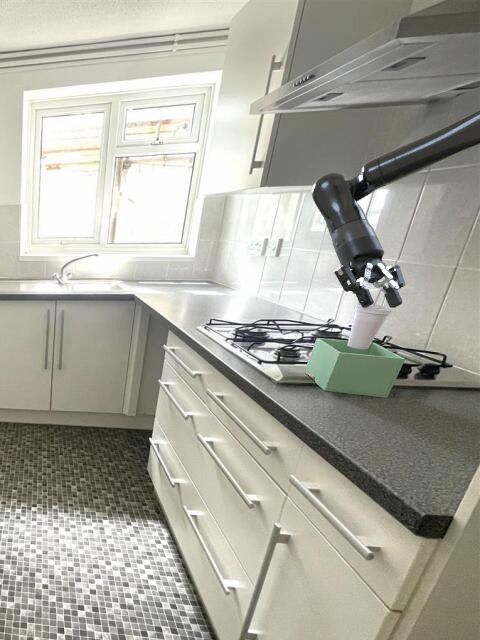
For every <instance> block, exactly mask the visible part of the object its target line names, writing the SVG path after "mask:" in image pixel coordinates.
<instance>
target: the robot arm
mask: <svg viewBox="0 0 480 640" xmlns="http://www.w3.org/2000/svg"><path fill="white" fill-rule="evenodd" d="M479 145H480V109H478V110H477V111H475V112H473V113H471V114H469V115H467V116H465V117H463V118H461V119H459V120H457V121H455V122H453V123H451V124H448V125H446V126H444V127H442V128H440V129H437V130H435V131H433V132H430V133H428V134H426V135H424V136H422V137H419V138H416V139H414V140H412V141H410V142H407V143H405V144H403V145H400V146H398V147H395V148H394V149H391V150H389V151H387V152H385V153H383V154H380V155H379V156H376V157H373V158H372V159H370V160H368V161H367V162H365V163H364V164H363V165H362V167H361V172H360V173H358V174H357V175H355V176H353V177H352V178H350V179H348V177H347V176H346V175H345V174H343V173H341V172H337V171H334V172H332V171H331V172H327V173H325V174H322V175H321V176H319V178H317V179H316V181H315V182H314V183H313V185H312V186H311V192H310V193H311V194H310V195H311V199H312V200H313V202H314V204H315V206H316V208H317V209H318V211H319V213H320V215H321V216H322V217H323V220H324V222H325V226H326V228H327V232H328V233H329V236H330V238H331V243H332V246H333V249H334V251H335V254H336V257H337V259H338V261H339V264H340V266H339V267H338V268H336V269H335V270H334V271H333V273H334V275H335V277H336V278H337V280H338V282H339V284H340V285H341V288H342V289H343V291H344V292H346V293H349V292H352V294H354V295H355V296H356V299H357V301H358V304H360V305H361V306H362V307H363V308H367V307H369V306H371V305H372V304H373V303H374V299H373V296H372V294H371V292H370V289H369V288H368V285H369V284H371V285H372V286H373V287H374V288H375V289H377V288H378V289H379V288H380V287H383V289H382V291H381V292H382V293H383V294H384V298H385V300H386V302H387V305H388V307H390V308H392V309H395V308H397V307H400V306H401V305H402V304H403V298H402V297H401V295H400V292H399V290H400V289H402V288H404V287H406V282H405V279H404V275H403V272H402V269H401V266H400V265H399V264H397V263H396V264H394V265H392V266H389V265H387V264H386V263H385V262H384V260H383V257H384V255H385V250H384V248H383V246H382V243H381V242H380V240H379V237H378V235H377V233H376V230H375V229H374V227H373V226H372V225H371V223H370V222H369V219H368V217H367V215H366V213H365V211H364V209H363V207H361V205H360V204H359V203H358V202H360V201H361V200H362V199H364V198H366V197H368V196H369V195H371V194H373V193H374V192H376V191H377V190H379V189H381V188H384V187H386V186H388V185H391V184H394V183H396V182H398V181H401V180H403V179H406V178H408V177H410V176H413V175H415V174H418V173H420V172H422V171H424V170H427V169H428V168H430V167H432V166H435V165H436V164H439V163H441V162H443V161H445V160H447V159H449V158H451V157H454V156H456V155H458V154H460V153H462V152H465V151H466V150H469V149H472V148H474V147H476V146H479ZM383 278H384V279H383ZM348 281H349V283H348ZM385 284H387V286H388V287H387V286H386V285H385Z"/></svg>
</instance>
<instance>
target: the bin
mask: <svg viewBox="0 0 480 640" xmlns="http://www.w3.org/2000/svg"><path fill="white" fill-rule="evenodd" d="M405 360H406V358H405V357H403V356H400V355H399V354H396V353H395V352H393V351H391V350H389V349H387V348H385V347H383V346H381V345H379V344H378V343H376V342H371V344H370V346H369V347H368V349H357V348H352V347H349V346H348V340H347V339H346V340H345V339H334V338H322V337H316V339H315V341H314V344H313V347H312V349H311V352H310V355H309V358H308V361H307V364H306V366H305V369H307V370H308V371H309V372H310V373H312V374H313V376H314V377H315V382H314V383H315V384H316V385H317V386H319V387H320V388H321V390H323V391H324V392H331V393H340V394H347V395H348V394H349V395H359V396H366V397H376V398H382V399H383V398H384V399H388V397H389V395H390V393H391V391H392V389H393V386H394V384H395V382H396V380H397V378H398V376H399V373H400V371H401V369H402V367H403V365H404V362H405Z"/></svg>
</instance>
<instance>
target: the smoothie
mask: <svg viewBox="0 0 480 640" xmlns="http://www.w3.org/2000/svg"><path fill="white" fill-rule="evenodd" d="M382 289H383V287H380V288H378V290H377V292H376V295H375V298H374V299H373V301H374V303H373V304H372V305H371V306H369V307H367V308H363V307H362V306H361V305H360V303H357V304H355V307H354V310H355V312H354V315H353V320H352V324H351V328H350V333H349V337H348V340H347V341H348V346H349V347H352V348H357V349H368V347H369V346H370V344H371V343H373V341H374V339H375V337H376V336H377V334H378V333H379V331H380V329H382V326H383V324H384V323H385V321H386V320H387V318H388V317H389V315H392V312H393V309H394V308H390V307H389V306H386V305H380V304H377V303H378V301H379V298H380V296H381V293H382V292H383V291H382Z"/></svg>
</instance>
